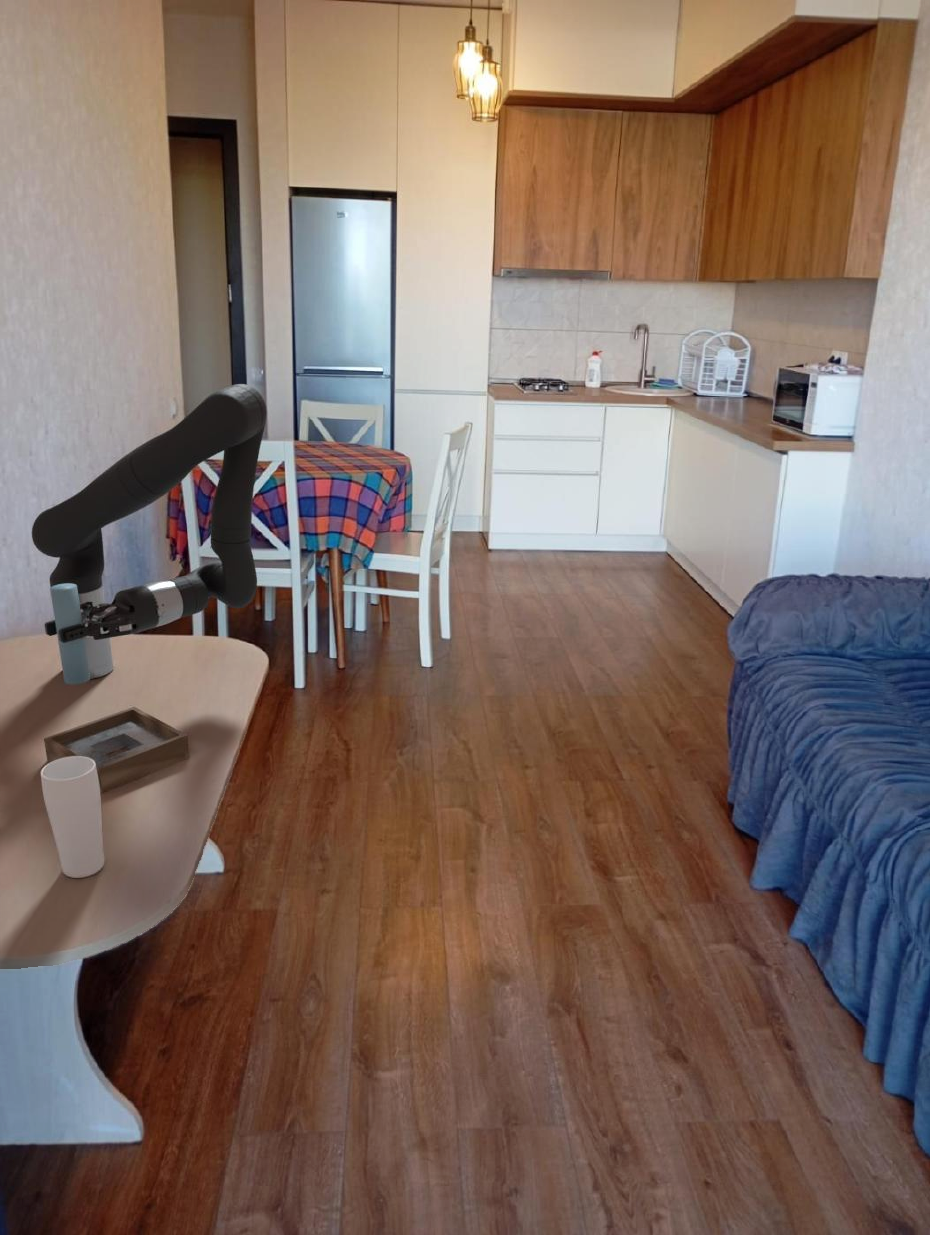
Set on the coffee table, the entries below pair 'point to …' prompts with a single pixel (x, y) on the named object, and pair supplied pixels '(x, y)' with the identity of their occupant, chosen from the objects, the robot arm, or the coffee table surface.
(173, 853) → the coffee table surface
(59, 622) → the blue-grey painted peg
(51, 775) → the drinking glass
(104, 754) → the grey metal bore plate
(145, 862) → the coffee table surface
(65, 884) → the coffee table surface
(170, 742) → the walnut crate
